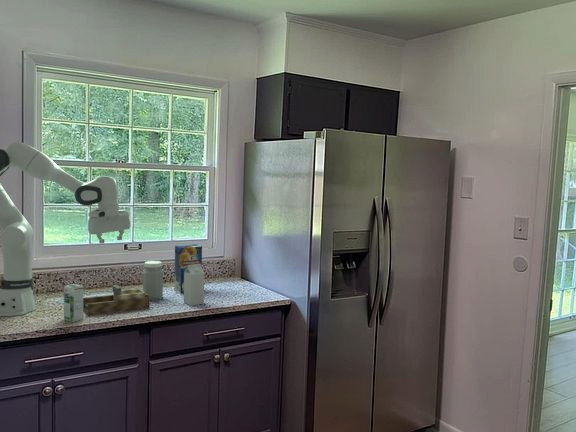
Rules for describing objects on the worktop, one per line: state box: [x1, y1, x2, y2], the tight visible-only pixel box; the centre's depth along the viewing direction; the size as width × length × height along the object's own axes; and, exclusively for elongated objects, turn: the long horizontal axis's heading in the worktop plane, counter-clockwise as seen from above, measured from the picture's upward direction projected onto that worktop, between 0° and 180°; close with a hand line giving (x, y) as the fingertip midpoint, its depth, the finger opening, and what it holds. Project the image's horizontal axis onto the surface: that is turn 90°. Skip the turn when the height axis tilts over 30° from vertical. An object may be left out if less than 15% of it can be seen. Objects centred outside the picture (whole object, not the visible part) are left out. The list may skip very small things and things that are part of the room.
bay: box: [83, 293, 150, 317], centre depth 238 cm, size 27×12×6 cm, turn 124°
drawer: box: [112, 284, 145, 301], centre depth 241 cm, size 13×9×9 cm
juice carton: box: [174, 244, 203, 295], centre depth 274 cm, size 12×8×24 cm, turn 128°
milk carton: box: [183, 264, 205, 306], centre depth 251 cm, size 7×7×19 cm
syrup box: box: [63, 283, 84, 323], centre depth 219 cm, size 6×6×14 cm
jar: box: [142, 260, 164, 301], centre depth 258 cm, size 10×10×18 cm
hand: (111, 241), depth 239 cm, fingers open, 8 cm apart
